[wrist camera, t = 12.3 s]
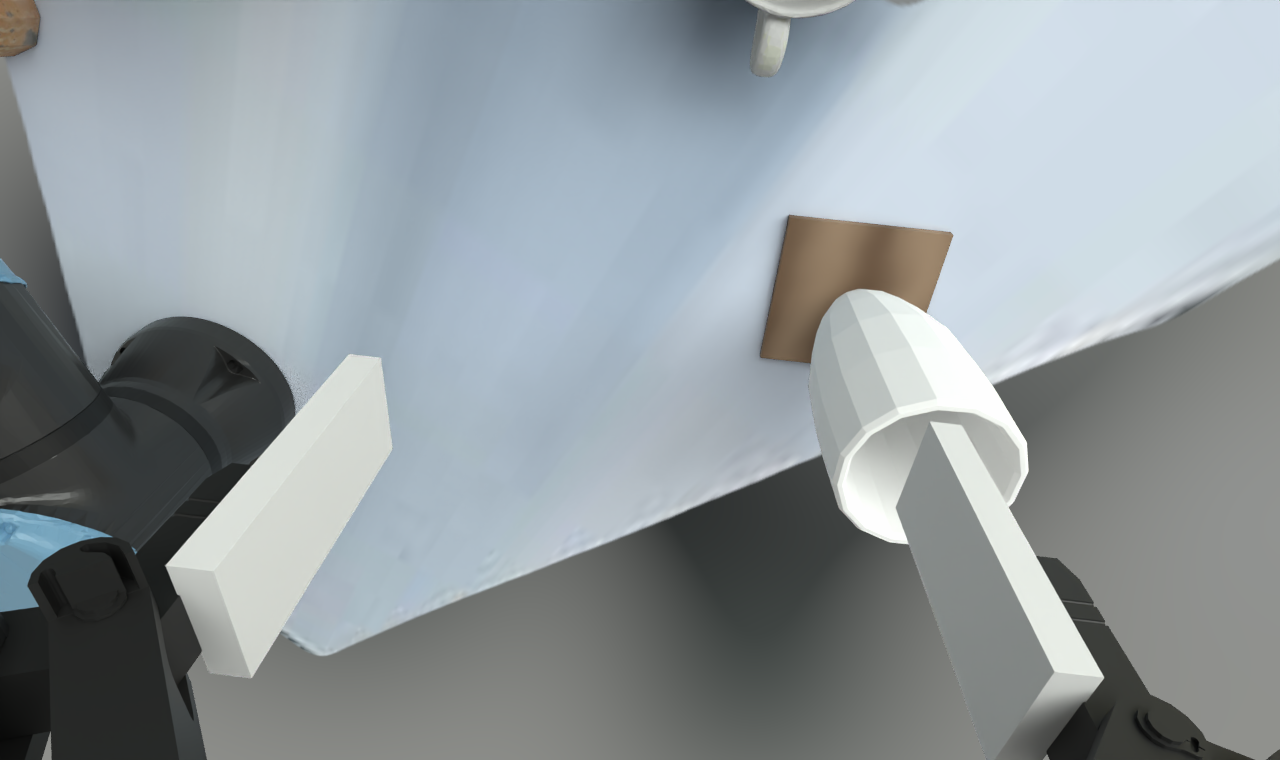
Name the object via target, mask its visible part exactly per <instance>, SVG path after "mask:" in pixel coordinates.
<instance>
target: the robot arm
mask: <svg viewBox="0 0 1280 760" xmlns="http://www.w3.org/2000/svg"><path fill="white" fill-rule="evenodd" d="M26 287H27V284H26V282H25V281H24V280H22V279H21V278H20V277H18V276H15V274H14V273H13V272H12V271H11V270H10V269H9V267H8V266H7V265H6V264H5V263H4V262H3V260H2V259H1V258H0V760H42V757H43V754H44V750H45V747H46V744H47V741H48V737H49V734H50V731H51V750H52V760H207V759H206V753H205V748H204V744H203V739H202V734H201V729H200V724H199V719H198V714H197V709H196V704H195V700H194V695H193V690H192V685H191V681H190V679H189V677H188V674H187V672H188V670H189V669H190V667H191V666H192V665H193V663H194V662H195V660H196V659H197V658H198V656H199V655H200V653H201V654H202V657H203V659H204V662H205V664H206V667H207V669H208V672H209V673H212V674H220V675H228V676H237V677H245V678H252V677H253V675H254V674H255V672H256V670H257V669H258V667H259V665H260V664H261V662H262V660H263V659H264V657H265V656H266V654H267V652H268V651H269V649H270V648H271V646H272V644H273V643H274V641H275V639H276V638H277V636H278V635H279V633H280V631H281V630H282V628H283V626H284V625H285V623H286V622H287V620H288V618H289V617H290V615H291V613H292V612H293V610H294V609H295V607H296V605H297V604H298V602H299V600H300V599H301V597H302V596H303V594H304V592H305V591H306V589H307V587H308V586H309V584H310V582H311V581H312V579H313V578H314V576H315V574H316V573H317V571H318V569H319V568H320V566H321V565H322V563H323V561H324V560H325V558H326V556H327V555H328V553H329V552H330V550H331V548H332V547H333V545H334V543H335V542H336V540H337V539H338V537H339V535H340V534H341V532H342V530H343V529H344V527H345V526H346V524H347V522H348V521H349V519H350V517H351V516H352V514H353V513H354V511H355V509H356V508H357V506H358V504H359V503H360V501H361V500H362V498H363V496H364V495H365V493H366V491H367V490H368V488H369V486H370V485H371V483H372V482H373V480H374V478H375V477H376V475H377V473H378V472H379V470H380V469H381V467H382V465H383V464H384V462H385V460H386V459H387V457H388V456H389V454H390V452H391V451H392V449H393V447H392V439H391V431H390V424H389V416H388V408H387V401H386V393H385V386H384V378H383V370H382V363H381V358H378V357H370V356H361V355H352V354H349V355H348V356H347V357H346V358H345V359H344V361H343V362H342V363H341V364H340V365H339V366H338V368H337V369H336V370H335V371H334V372H333V373H332V374H331V376H330V377H329V378H328V379H327V380H326V381H325V382H324V384H323V385H322V386H321V387H320V388H319V389H318V391H317V392H316V393H315V394H314V395H313V396H312V397H311V399H310V400H309V401H308V402H307V403H306V404H305V406H304V407H303V408H302V409H301V410H300V411H299V412H298V414H297V415H296V416H295V407H294V400H293V396H292V393H291V390H290V387H289V385H288V383H287V381H286V379H285V377H284V376H283V374H282V373H281V371H280V370H279V368H278V367H277V366H276V365H275V363H274V362H273V361H272V360H271V359H270V358H269V357H268V356H267V355H266V354H265V353H264V352H263V351H262V350H261V349H260V348H259V347H257V346H256V345H255V344H254V343H252V342H251V341H250V340H248V339H247V338H245V337H244V336H242V335H240V334H239V333H237V332H235V331H233V330H231V329H229V328H227V327H225V326H222V325H220V324H217V323H214V322H211V321H207V320H203V319H198V318H192V317H170V318H165V319H161V320H157V321H155V322H153V323H151V324H149V325H147V326H146V327H144V328H143V329H141V330H140V331H138V332H137V333H135V334H134V335H132V336H131V337H130V338H128V339H127V340H126V341H125V342H124V343H123V344H122V345H121V346H120V348H119V349H118V351H117V352H116V354H115V356H114V358H113V361H112V364H111V366H110V367H109V368H108V370H107V371H106V372H105V373H104V375H103V376H102V378H101V379H100V381H99V382H97V380H96V379H95V378H94V376H93V375H92V374H91V373H90V371H89V370H88V369H87V367H86V366H85V365H84V363H83V362H82V361H81V360H80V358H79V357H78V356H77V354H76V353H75V352H74V350H73V349H72V348H71V347H70V345H69V344H68V343H67V341H66V340H65V339H64V338H63V336H62V335H61V334H60V332H59V331H58V330H57V329H56V327H55V326H54V324H53V323H52V322H51V321H50V319H49V318H48V317H47V315H46V314H45V313H44V311H43V310H42V309H41V308H40V306H39V305H38V304H37V302H36V301H35V300H34V299H33V297H32V296H31V295H30V293H29V292H28V291H27V289H26ZM294 416H295V417H294ZM896 510H897V513H898V516H899V519H900V521H901V524H902V527H903V530H904V533H905V535H906V538H907V541H908V544H909V546H910V549H911V552H912V555H913V557H914V560H915V563H916V566H917V569H918V571H919V574H920V577H921V580H922V583H923V585H924V588H925V591H926V593H927V596H928V599H929V602H930V605H931V608H932V610H933V613H934V616H935V619H936V622H937V624H938V627H939V629H940V633H941V635H942V638H943V641H944V644H945V646H946V649H947V652H948V655H949V658H950V660H951V663H952V666H953V669H954V672H955V674H956V677H957V680H958V683H959V685H960V688H961V691H962V694H963V697H964V699H965V702H966V705H967V708H968V711H969V713H970V716H971V719H972V722H973V724H974V727H975V730H976V733H977V735H978V738H979V741H980V744H981V747H982V749H983V752H984V754H985V758H986V760H1043V758H1044V757H1045V756H1046V755H1047V754H1048V757H1049V759H1050V760H1254V759H1251V758H1249V757H1246V756H1244V755H1241V754H1239V753H1236V752H1233V751H1231V750H1228V749H1226V748H1223V747H1220V746H1218V745H1215V744H1213V743H1211V742H1208V741H1206V739H1205V737H1204V735H1203V734H1202V732H1201V731H1200V730H1199V729H1198V728H1197V726H1196V725H1195V724H1194V723H1193V722H1192V721H1191V720H1190V719H1189V718H1188V717H1187V716H1186V715H1184V714H1183V713H1182V712H1180V711H1179V710H1178V709H1176V708H1175V707H1173V706H1172V705H1171V704H1169V703H1167V702H1165V701H1163V700H1160V699H1159V698H1156V697H1154V696H1152V695H1150V694H1149V692H1148V690H1147V689H1146V687H1145V685H1144V684H1143V682H1142V681H1141V679H1140V677H1139V676H1138V674H1137V672H1136V671H1135V669H1134V668H1133V666H1132V664H1131V663H1130V661H1129V660H1128V658H1127V656H1126V654H1125V653H1124V651H1123V650H1122V648H1121V646H1120V645H1119V643H1118V641H1117V640H1116V638H1115V637H1114V635H1113V633H1112V632H1111V630H1110V629H1109V627H1108V626H1105V620H1104V619H1103V617H1102V615H1101V614H1100V612H1099V610H1098V609H1097V607H1094V606H1093V601H1092V599H1091V597H1090V596H1089V594H1088V592H1087V591H1086V589H1085V588H1084V586H1083V584H1082V583H1081V581H1080V580H1079V579H1078V578H1077V577H1076V576H1075V575H1074V574H1073V573H1072V572H1071V571H1070V570H1069V569H1068V568H1067V567H1066V566H1064V565H1063V564H1062V563H1061V562H1060V561H1059V560H1058V559H1057V558H1048V557H1039V556H1035V554H1034V552H1033V550H1032V549H1031V547H1030V545H1029V543H1028V541H1027V540H1026V538H1025V536H1024V535H1023V533H1022V531H1021V529H1020V527H1019V526H1018V524H1017V522H1016V520H1015V518H1014V517H1013V515H1012V513H1011V511H1010V510H1009V508H1008V506H1007V504H1006V502H1005V501H1004V499H1003V497H1002V495H1001V494H1000V492H999V490H998V488H997V486H996V485H995V483H994V481H993V479H992V478H991V476H990V474H989V472H988V470H987V469H986V467H985V465H984V463H983V462H982V460H981V458H980V456H979V455H978V453H977V451H976V449H975V447H974V446H973V444H972V442H971V440H970V439H969V437H968V435H967V433H966V431H965V430H964V428H963V426H962V425H957V424H948V423H939V422H931V421H930V422H929V424H928V427H927V429H926V432H925V434H924V437H923V439H922V442H921V444H920V447H919V449H918V452H917V455H916V457H915V460H914V462H913V465H912V467H911V470H910V472H909V475H908V477H907V480H906V482H905V485H904V487H903V490H902V492H901V495H900V498H899V500H898V503H897V505H896ZM1267 760H1280V750H1278V751H1277V752H1275V753H1274V754H1273V755H1271V756H1270V757H1269V758H1268V759H1267Z"/></svg>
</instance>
